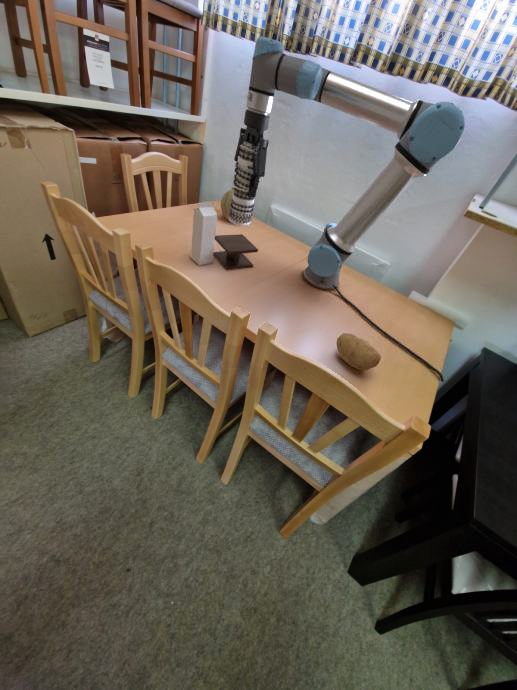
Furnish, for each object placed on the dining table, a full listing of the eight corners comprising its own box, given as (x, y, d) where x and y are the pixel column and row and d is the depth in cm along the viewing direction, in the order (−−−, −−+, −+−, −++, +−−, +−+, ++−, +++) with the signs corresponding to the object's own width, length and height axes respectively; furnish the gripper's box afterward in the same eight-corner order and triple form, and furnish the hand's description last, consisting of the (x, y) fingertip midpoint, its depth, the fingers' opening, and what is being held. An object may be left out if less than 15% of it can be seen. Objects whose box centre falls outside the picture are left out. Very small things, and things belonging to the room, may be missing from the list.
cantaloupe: (242, 229, 146) (248, 197, 136) (214, 220, 146) (218, 188, 136) (250, 219, 157) (256, 190, 147) (224, 211, 157) (228, 181, 147)
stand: (254, 267, 121) (258, 249, 115) (226, 270, 114) (229, 251, 109) (239, 251, 128) (242, 234, 122) (212, 254, 121) (214, 235, 116)
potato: (341, 342, 97) (351, 323, 92) (377, 369, 91) (390, 351, 86) (324, 353, 91) (334, 334, 86) (361, 383, 85) (374, 364, 80)
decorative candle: (254, 220, 113) (269, 145, 96) (247, 228, 106) (263, 149, 90) (232, 213, 114) (243, 137, 97) (224, 221, 107) (235, 140, 90)
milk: (212, 262, 116) (219, 205, 102) (199, 265, 113) (204, 207, 98) (203, 255, 119) (208, 198, 104) (190, 258, 115) (194, 199, 101)
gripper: (230, 101, 92) (221, 179, 107) (266, 118, 80) (250, 203, 95) (250, 105, 96) (239, 180, 111) (288, 122, 84) (269, 204, 99)
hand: (244, 191), depth 103 cm, fingers closed on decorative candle, 9 cm apart
